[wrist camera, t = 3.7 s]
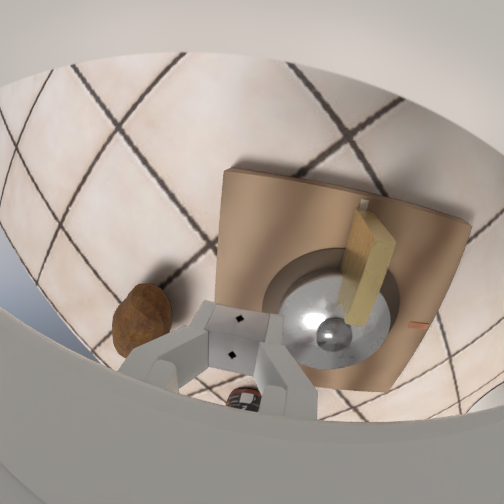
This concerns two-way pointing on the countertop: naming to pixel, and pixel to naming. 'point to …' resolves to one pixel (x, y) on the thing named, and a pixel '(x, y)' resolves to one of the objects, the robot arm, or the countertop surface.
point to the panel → (333, 259)
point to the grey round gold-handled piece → (341, 302)
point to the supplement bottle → (244, 399)
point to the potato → (141, 318)
